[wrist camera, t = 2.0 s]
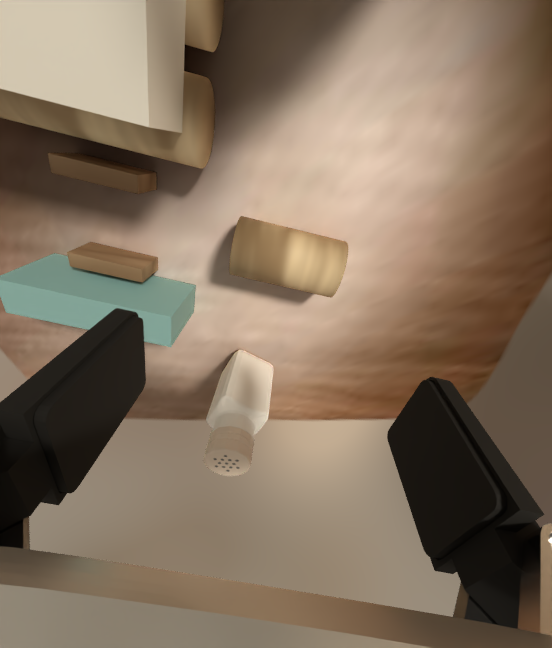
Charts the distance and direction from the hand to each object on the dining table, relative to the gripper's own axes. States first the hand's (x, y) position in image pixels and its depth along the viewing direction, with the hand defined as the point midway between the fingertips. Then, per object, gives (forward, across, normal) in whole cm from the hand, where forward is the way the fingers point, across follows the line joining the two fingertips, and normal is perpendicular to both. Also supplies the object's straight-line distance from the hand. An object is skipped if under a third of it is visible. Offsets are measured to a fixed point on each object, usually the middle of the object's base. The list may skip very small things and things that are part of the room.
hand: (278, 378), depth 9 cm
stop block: (+13, +12, +5) cm, 18 cm away
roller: (+13, 0, -1) cm, 13 cm away
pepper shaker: (+13, +1, +11) cm, 17 cm away
